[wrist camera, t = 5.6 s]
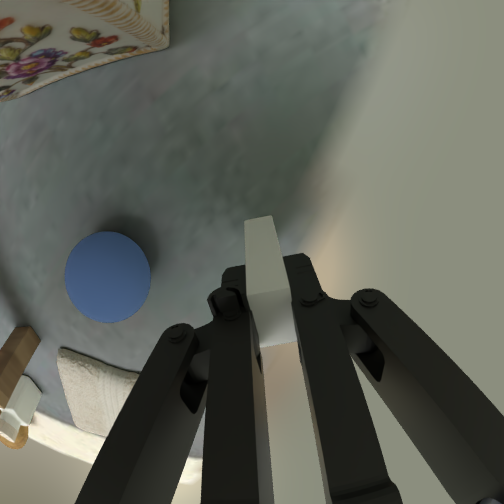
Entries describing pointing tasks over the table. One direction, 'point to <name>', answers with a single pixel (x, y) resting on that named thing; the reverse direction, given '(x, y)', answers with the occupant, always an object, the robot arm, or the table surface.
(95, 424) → the washcloth
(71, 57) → the decorative jar
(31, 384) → the salt shaker
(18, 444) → the potato
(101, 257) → the ball
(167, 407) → the robot arm
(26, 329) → the bridge
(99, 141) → the table surface
